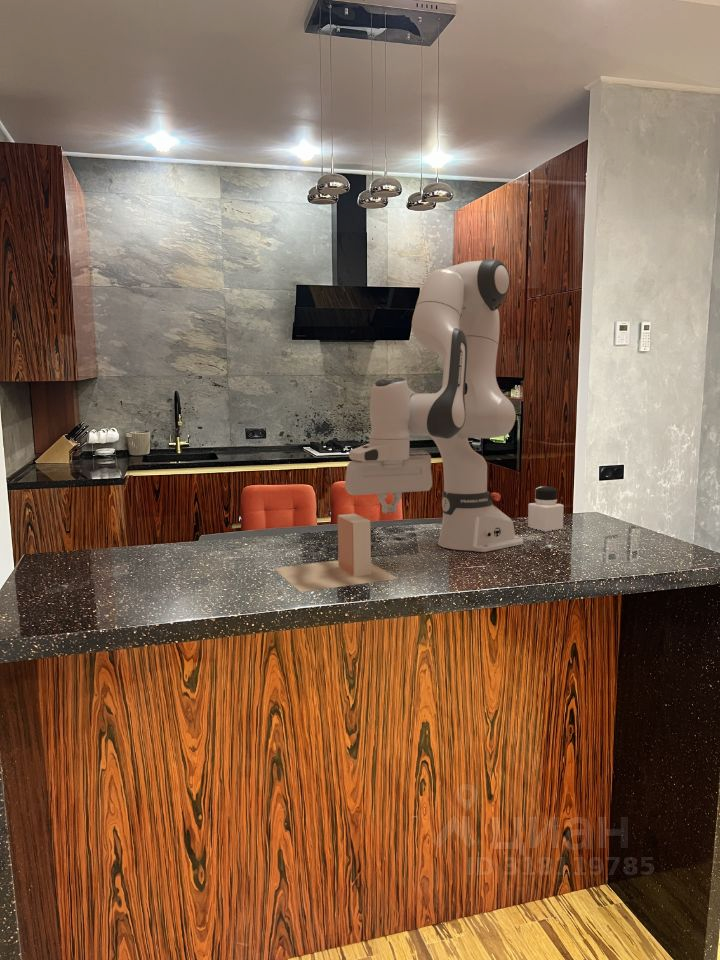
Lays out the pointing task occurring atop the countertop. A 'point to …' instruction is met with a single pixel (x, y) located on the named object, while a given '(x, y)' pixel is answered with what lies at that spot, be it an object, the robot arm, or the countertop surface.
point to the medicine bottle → (545, 510)
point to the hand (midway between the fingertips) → (389, 512)
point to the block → (354, 544)
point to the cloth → (328, 576)
